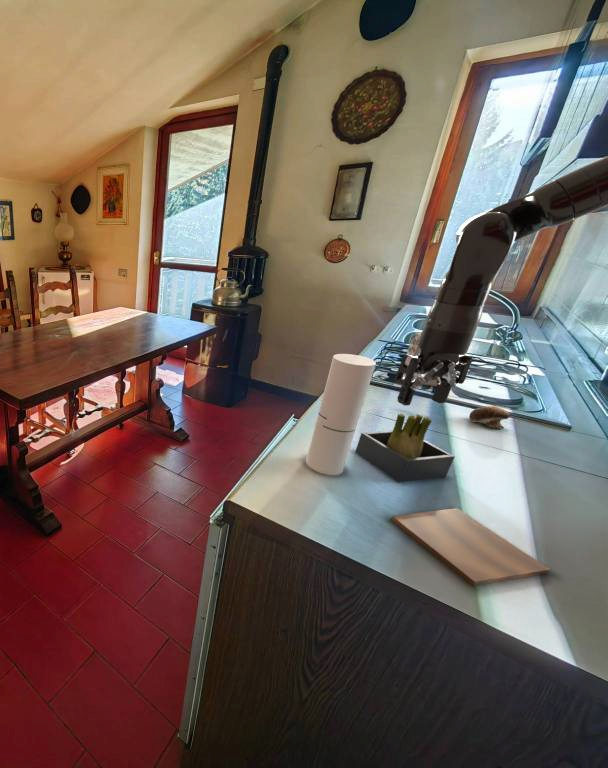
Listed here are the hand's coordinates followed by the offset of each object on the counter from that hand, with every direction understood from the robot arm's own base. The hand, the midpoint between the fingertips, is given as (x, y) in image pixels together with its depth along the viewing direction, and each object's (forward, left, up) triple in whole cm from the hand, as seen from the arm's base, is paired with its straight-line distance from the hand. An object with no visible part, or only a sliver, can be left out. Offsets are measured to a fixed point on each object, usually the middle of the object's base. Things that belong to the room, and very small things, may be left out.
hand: (420, 402), depth 80 cm
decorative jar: (-55, -44, -16) cm, 72 cm away
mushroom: (-41, -13, -16) cm, 46 cm away
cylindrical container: (+17, -2, -16) cm, 23 cm away
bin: (0, 0, -16) cm, 16 cm away
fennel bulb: (0, 0, -15) cm, 15 cm away
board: (+10, +22, -16) cm, 29 cm away
